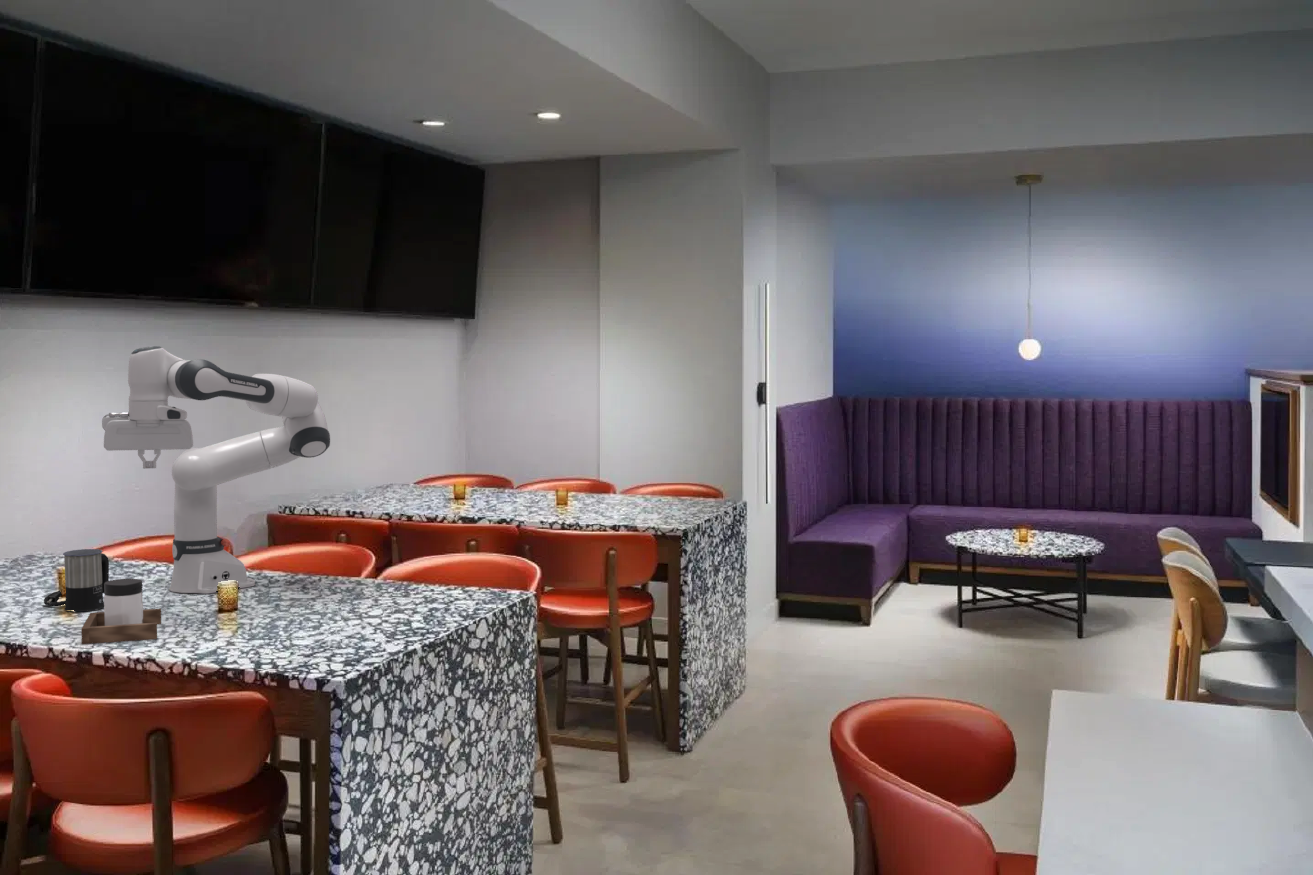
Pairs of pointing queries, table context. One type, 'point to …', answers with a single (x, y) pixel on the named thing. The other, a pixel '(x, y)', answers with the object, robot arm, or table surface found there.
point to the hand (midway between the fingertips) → (149, 468)
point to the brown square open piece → (120, 628)
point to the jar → (123, 602)
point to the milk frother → (83, 580)
